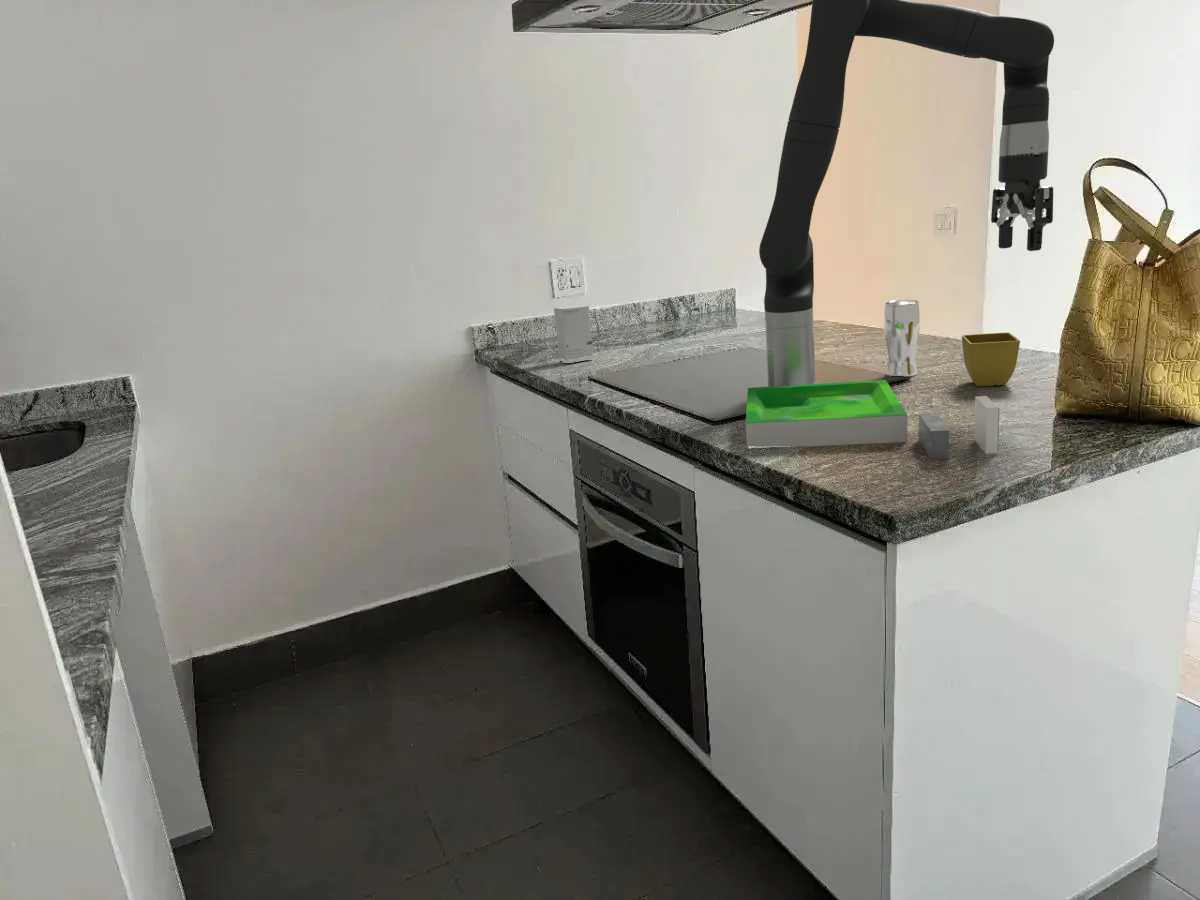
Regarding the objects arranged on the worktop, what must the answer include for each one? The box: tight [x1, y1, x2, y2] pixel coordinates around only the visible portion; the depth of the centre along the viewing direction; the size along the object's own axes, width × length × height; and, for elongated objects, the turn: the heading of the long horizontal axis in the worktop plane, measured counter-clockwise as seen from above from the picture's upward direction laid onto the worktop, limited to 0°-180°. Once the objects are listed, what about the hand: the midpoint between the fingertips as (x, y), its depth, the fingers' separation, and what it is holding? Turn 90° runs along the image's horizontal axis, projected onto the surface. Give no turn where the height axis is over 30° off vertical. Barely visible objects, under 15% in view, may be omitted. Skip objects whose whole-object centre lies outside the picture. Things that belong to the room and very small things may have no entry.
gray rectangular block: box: [918, 412, 950, 460], centre depth 132 cm, size 2×10×4 cm, turn 170°
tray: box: [745, 379, 908, 447], centre depth 151 cm, size 25×25×5 cm
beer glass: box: [883, 299, 921, 378], centre depth 179 cm, size 7×7×15 cm
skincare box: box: [553, 304, 594, 360], centre depth 233 cm, size 8×6×15 cm
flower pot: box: [961, 332, 1021, 387], centre depth 165 cm, size 9×9×9 cm
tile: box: [974, 395, 1000, 455], centre depth 130 cm, size 2×7×7 cm, turn 170°
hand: (1019, 249), depth 152 cm, fingers open, 8 cm apart
